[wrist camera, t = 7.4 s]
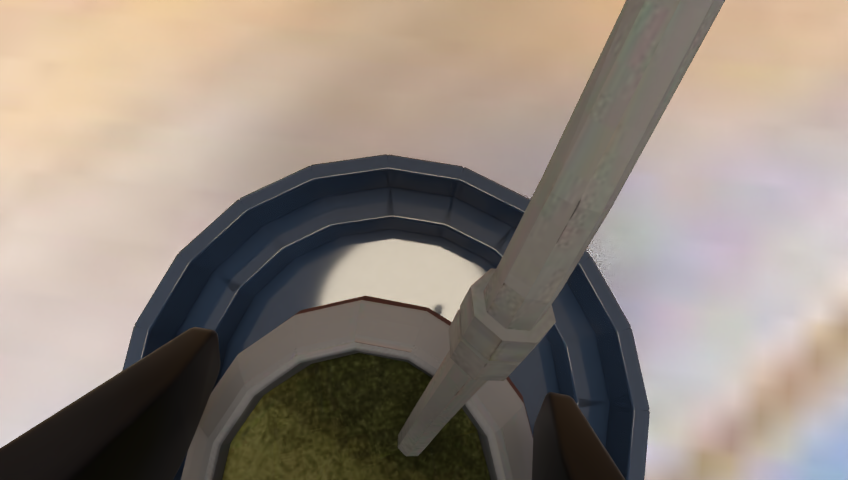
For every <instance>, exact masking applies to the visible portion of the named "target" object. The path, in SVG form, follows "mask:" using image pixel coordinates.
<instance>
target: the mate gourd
mask: <svg viewBox="0 0 848 480" xmlns="http://www.w3.org/2000/svg"><path fill="white" fill-rule="evenodd" d="M724 1H725V0H626V2H625V4H624V7H623V9H622V11H621V13H620V15H619V17H618V19H617V21H616V23H615V25H614V27H613V30H612V32H611V34H610V36H609V38H608V40H607V42H606V44H605V46H604V48H603V51H602V53H601V55H600V57H599V59H598V61H597V63H596V65H595V67H594V69H593V71H592V74H591V76H590V78H589V80H588V82H587V84H586V86H585V88H584V90H583V92H582V95H581V97H580V99H579V101H578V103H577V105H576V107H575V109H574V111H573V113H572V116H571V118H570V120H569V122H568V124H567V126H566V128H565V130H564V132H563V134H562V136H561V139H560V141H559V143H558V145H557V147H556V149H555V151H554V153H553V155H552V157H551V160H550V162H549V164H548V166H547V168H546V170H545V172H544V174H543V176H542V178H541V180H540V182H539V184H538V186H537V188H536V190H535V192H534V194H533V196H532V198H531V200H530V202H529V204H528V206H527V208H526V210H525V212H524V214H523V216H522V218H521V220H520V222H519V225H518V227H517V229H516V231H515V233H514V235H513V237H512V239H511V241H510V243H509V245H508V247H507V249H506V251H505V253H504V255H503V257H502V259H501V261H500V263H499V264H498V266H497V268H496V269H493V268H491V269H490V270H489V271H487V272H486V273H485V274H484V275H483V276H482V277H481V278H479V279H478V280H477V281H476V282H475V283H474V284H473V285H471V287H470V288H469V290H468V292H467V294H466V296H465V297H464V299H463V301H462V303H461V305H460V309H459V310H458V312H457V313H456V315H455V317H454V319H453V321H452V322H451V321H449V320H447V319H446V318H444V317H443V316H441V315H439V314H438V313H436V312H434V311H433V310H431V309H430V308H428V307H423V306H417V305H412V304H407V303H402V302H397V301H391V300H386V299H381V298H376V297H370V296H362V297H357V298H353V299H348V300H344V301H339V302H335V303H330V304H326V305H322V306H317V307H313V308H308V309H304V310H300V311H299V312H298V313H296V314H295V315H293V316H292V317H291V318H289V319H288V320H286V321H285V322H284V323H282V324H281V325H279V326H278V327H277V328H275V329H274V330H272V331H271V332H270V333H268V334H267V335H265V336H264V337H262V338H261V339H259V340H258V341H256V342H255V343H254V344H252V345H251V346H249V347H248V348H246V349H245V350H243V351H242V352H241V353H239V354H238V355H237V356H236V358H235V359H234V361H233V362H232V363H231V365H230V366H229V368H228V369H227V371H226V372H225V374H224V375H223V377H222V378H221V380H220V381H219V382H218V384H217V385H216V387H215V388H214V390H213V391H212V393H211V394H210V397H209V400H208V402H207V405H206V407H205V410H204V412H203V415H202V417H201V420H200V422H199V425H198V427H197V430H196V432H195V435H194V437H193V440H192V442H191V444H190V447H189V449H188V452H187V456H186V460H185V465H184V469H183V473H182V477H181V480H532V460H533V435H532V431H531V427H530V423H529V420H528V416H527V412H526V408H525V404H524V400H523V396H522V395H521V393H520V392H519V391H518V389H517V388H516V386H515V385H514V384H513V382H512V381H511V380H510V378H509V377H508V376H509V375H510V374H511V373H512V372H513V371H514V370H515V368H516V367H517V366H518V365H519V364H520V363H521V362H522V361H523V360H524V359H525V358H526V356H527V355H528V354H529V353H530V352H531V351H532V350H533V349H534V348H535V346H536V345H537V344H538V343H539V342H540V341H541V340H542V339H543V337H544V336H545V335H546V334H547V333H548V331H549V330H550V329H551V328H552V326H553V325H554V324H555V323H556V321H555V317H554V312H553V308H552V303H553V301H554V300H555V299H556V297H557V296H558V294H559V293H560V291H561V290H562V288H563V287H564V285H565V283H566V282H567V280H568V278H569V277H570V275H571V273H572V272H573V270H574V269H575V267H576V265H577V264H578V262H579V260H580V259H581V257H582V255H583V254H584V252H585V250H586V249H587V247H588V245H589V244H590V242H591V240H592V239H593V237H594V235H595V234H596V232H597V231H598V229H599V227H600V226H601V224H602V222H603V221H604V219H605V217H606V216H607V214H608V212H609V211H610V209H611V207H612V206H613V204H614V202H615V200H616V198H617V196H618V195H619V193H620V191H621V189H622V187H623V185H624V184H625V182H626V180H627V178H628V176H629V175H630V173H631V171H632V169H633V167H634V165H635V164H636V162H637V160H638V158H639V156H640V154H641V153H642V151H643V149H644V147H645V145H646V144H647V142H648V140H649V138H650V136H651V134H652V133H653V131H654V129H655V127H656V125H657V124H658V122H659V120H660V118H661V116H662V114H663V113H664V111H665V109H666V107H667V105H668V103H669V102H670V100H671V98H672V96H673V94H674V93H675V91H676V89H677V87H678V85H679V83H680V82H681V80H682V78H683V76H684V74H685V73H686V71H687V69H688V67H689V65H690V63H691V62H692V60H693V58H694V56H695V54H696V52H697V51H698V49H699V47H700V45H701V43H702V42H703V40H704V38H705V36H706V34H707V32H708V31H709V29H710V27H711V25H712V23H713V21H714V20H715V18H716V16H717V14H718V12H719V11H720V9H721V7H722V5H723V3H724Z"/></svg>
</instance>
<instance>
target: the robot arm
mask: <svg viewBox="0 0 848 480" xmlns="http://www.w3.org/2000/svg"><path fill="white" fill-rule="evenodd" d="M219 370H220V352H219V342H218V335H217V333H216V331H214V330H210V329H205V328H199V327H193V328H190V329H188V330H187V331H185V332H184V333H182V334H180V335H179V336H177V337H176V338H174V339H172V340H171V341H169V342H168V343H166V344H165V345H163V346H161V347H160V348H158V349H157V350H155V351H154V352H152V353H150V354H149V355H147V356H146V357H144V358H142V359H141V360H139V361H138V362H136V363H135V364H133V365H131V366H130V367H128V368H127V369H125V370H124V371H122V372H120V373H119V374H117V375H116V376H114V377H112V378H111V379H109V380H108V381H106V382H105V383H103V384H101V385H100V386H98V387H97V388H95V389H93V390H92V391H90V392H89V393H87V394H86V395H84V396H82V397H81V398H79V399H78V400H76V401H75V402H73V403H71V404H70V405H68V406H67V407H65V408H63V409H62V410H60V411H59V412H57V413H56V414H54V415H52V416H51V417H49V418H48V419H46V420H44V421H43V422H41V423H40V424H38V425H37V426H35V427H33V428H32V429H30V430H29V431H27V432H26V433H24V434H22V435H21V436H19V437H18V438H16V439H14V440H13V441H11V442H10V443H8V444H7V445H5V446H3V447H2V448H0V480H173V479H174V477H175V475H176V473H177V471H178V470H179V468H180V466H181V464H182V462H183V460H184V458H185V456H186V454H187V451H188V449H189V447H190V444H191V442H192V440H193V437H194V435H195V432H196V430H197V427H198V425H199V422H200V420H201V417H202V415H203V412H204V410H205V407H206V405H207V402H208V400H209V397H210V394H211V392H212V389H213V387H214V384H215V382H216V379H217V377H218V374H219ZM532 480H625V478H624V477H623V475H622V474H621V472H620V471H619V469H618V468H617V466H616V464H615V463H614V461H613V460H612V458H611V457H610V455H609V454H608V452H607V450H606V449H605V447H604V446H603V444H602V443H601V441H600V440H599V438H598V436H597V435H596V433H595V432H594V430H593V429H592V427H591V426H590V424H589V422H588V421H587V419H586V418H585V416H584V415H583V413H582V412H581V410H580V409H579V407H578V405H577V404H576V402H575V401H574V399H573V398H572V397H571V396H569V395H564V394H559V393H554V392H549V393H548V394H547V395H546V396H545V398H544V401H543V403H542V406H541V408H540V411H539V414H538V416H537V419H536V421H535V426H534V433H533V460H532Z"/></svg>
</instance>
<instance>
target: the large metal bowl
mask: <svg viewBox="0 0 848 480" xmlns="http://www.w3.org/2000/svg"><path fill="white" fill-rule="evenodd" d="M529 202H530V199H528V198H526V197H524V196H522V195H520V194H518V193H516V192H514V191H512V190H510V189H508V188H506V187H504V186H502V185H500V184H498V183H496V182H494V181H492V180H490V179H488V178H486V177H484V176H482V175H480V174H478V173H476V172H474V171H472V170H470V169H468V168H466V167H464V168H463V167H462V166H457V165H451V164H445V163H438V162H432V161H426V160H420V159H414V158H407V157H401V156H395V155H379V156H372V157H365V158H357V159H350V160H343V161H336V162H329V163H322V164H315V165H311V166H308V167H306V168H304V169H302V170H299V171H297V172H295V173H293V174H291V175H289V176H287V177H284V178H282V179H280V180H278V181H276V182H274V183H272V184H269V185H267V186H265V187H263V188H261V189H259V190H257V191H255V192H252V193H250V194H248V195H246V196H244V197H242V198H240V200H237V201H236V202H235V203H234V204H233V205H231V206H230V207H229V208H228V209H227V210H226V211H225V212H224V213H223V214H221V215H220V216H219V217H218V218H217V219H216V220H215V221H214V222H213V223H211V224H210V225H209V226H208V227H207V228H206V229H205V230H204V231H203V232H201V233H200V234H199V235H198V236H197V237H196V238H195V239H194V240H192V241H191V242H190V243H189V244H188V245H187V246H186V247H185V248H184V249H182V250H181V251H180V252H179V254H178V255H177V256H176V258H175V259H174V261H173V263H172V264H171V266H170V267H169V269H168V271H167V272H166V274H165V276H164V277H163V279H162V281H161V282H160V284H159V286H158V287H157V289H156V290H155V292H154V294H153V295H152V297H151V299H150V300H149V302H148V304H147V305H146V307H145V309H144V310H143V312H142V314H141V315H140V317H139V318H138V320H137V322H136V323H135V326H134V328H133V332H132V336H131V340H130V344H129V348H128V352H127V356H126V359H125V363H124V367H123V371H124V370H125V369H127V368H128V367H130V366H131V365H133V364H135V363H136V362H138V361H139V360H141V359H142V358H144V357H146V356H147V355H149V354H150V353H152V352H154V351H155V350H157V349H158V348H160V347H161V346H163V345H165V344H166V343H168V342H169V341H171V340H172V339H174V338H176V337H177V336H179V335H180V334H182V333H184V332H185V331H187V330H188V329H190V328H193V327H199V328H205V329H210V330H214V331H216V333H217V335H218V342H219V352H220V370H219V374H218V377H217V379H216V382H215V384H214V387H213V389H212V391H213V390H214V388H215V387H216V385H217V384H218V382H219V381H220V380H221V378H222V377H223V375H224V374H225V372H226V371H227V369H228V368H229V366H230V365H231V363H232V362H233V361H234V359H235V358H236V356H237V355H238V354H239V353H241V352H242V351H243V350H245V349H246V348H248V347H249V346H251V345H252V344H254V343H255V342H256V341H258V340H259V339H261V338H262V337H264V336H265V335H267V334H268V333H270V332H271V331H272V330H274V329H275V328H277V327H278V326H279V325H281V324H282V323H284V322H285V321H286V320H288V319H289V318H291V317H292V316H293V315H295V314H296V313H298V312H299V311H300V310H304V309H308V308H313V307H317V306H322V305H326V304H330V303H335V302H339V301H344V300H348V299H353V298H357V297H362V296H370V297H376V298H381V299H386V300H391V301H397V302H402V303H407V304H412V305H417V306H423V307H428V308H430V309H431V310H433V311H434V312H436V313H438V314H439V315H441V316H443V317H444V318H446V319H447V320H449V321H451V322H452V321H453V319H454V317H455V315H456V313H457V312H458V310H459V309H460V305H461V303H462V301H463V299H464V297H465V296H466V294H467V292H468V290H469V288H470V287H471V285H473V284H474V283H475V282H476V281H477V280H478V279H479V278H481V277H482V276H483V275H484V274H485V273H486V272H487V271H489V270H490V269H491V268H493V269H496V268H497V266H498V264H499V263H500V261H501V259H502V257H503V255H504V253H505V251H506V249H507V247H508V245H509V243H510V241H511V239H512V237H513V235H514V233H515V231H516V229H517V227H518V225H519V222H520V220H521V218H522V216H523V214H524V212H525V210H526V208H527V206H528V204H529ZM552 308H553V312H554V317H555V321H556V323H555V324H554V325H553V326H552V328H551V329H550V330H549V331H548V333H547V334H546V335H545V336H544V337H543V339H542V340H541V341H540V342H539V343H538V344H537V345H536V346H535V348H534V349H533V350H532V351H531V352H530V353H529V354H528V355H527V356H526V358H525V359H524V360H523V361H522V362H521V363H520V364H519V365H518V366H517V367H516V368H515V370H514V371H513V372H512V373H511V374H510V375H509V376H508V377H509V378H510V380H511V381H512V382H513V384H514V385H515V386H516V388H517V389H518V391H519V392H520V393H521V395H522V396H523V400H524V404H525V408H526V412H527V416H528V420H529V423H530V427H531V431H532V435H533V433H534V426H535V421H536V419H537V416H538V414H539V411H540V408H541V406H542V403H543V401H544V398H545V396H546V395H547V394H548V393H549V392H554V393H559V394H564V395H569V396H571V397H572V398H573V399H574V401H575V402H576V404H577V405H578V407H579V409H580V410H581V412H582V413H583V415H584V416H585V418H586V419H587V421H588V422H589V424H590V426H591V427H592V429H593V430H594V432H595V433H596V435H597V436H598V438H599V440H600V441H601V443H602V444H603V446H604V447H605V449H606V450H607V452H608V454H609V455H610V457H611V458H612V460H613V461H614V463H615V464H616V466H617V468H618V469H619V471H620V472H621V474H622V475H623V477H624V478H625V480H644V476H645V463H646V451H647V439H648V426H649V414H650V412H649V405H648V400H647V396H646V391H645V387H644V382H643V378H642V373H641V369H640V364H639V360H638V355H637V351H636V346H635V342H634V337H633V333H632V329H631V328H630V327H631V326H630V324H629V322H628V320H627V319H626V317H625V315H624V313H623V312H622V310H621V308H620V306H619V305H618V303H617V301H616V299H615V297H614V296H613V294H612V292H611V290H610V289H609V287H608V285H607V283H606V281H605V280H604V278H603V276H602V274H601V273H600V271H599V269H598V267H597V266H596V264H595V262H594V260H593V258H592V257H590V254H589V253H588V252H587V251H585V252H584V254H583V255H582V257H581V259H580V260H579V262H578V264H577V265H576V267H575V269H574V270H573V272H572V273H571V275H570V277H569V278H568V280H567V282H566V283H565V285H564V287H563V288H562V290H561V291H560V293H559V294H558V296H557V297H556V299H555V300H554V301H553V303H552ZM211 393H212V392H211ZM187 452H188V451H187ZM186 456H187V454H186ZM186 456H185V458H184V460H183V462H182V464H181V466H180V468H179V470H178V471H177V473H176V475H175V477H174V479H173V480H181V477H182V473H183V469H184V465H185V460H186Z"/></svg>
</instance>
